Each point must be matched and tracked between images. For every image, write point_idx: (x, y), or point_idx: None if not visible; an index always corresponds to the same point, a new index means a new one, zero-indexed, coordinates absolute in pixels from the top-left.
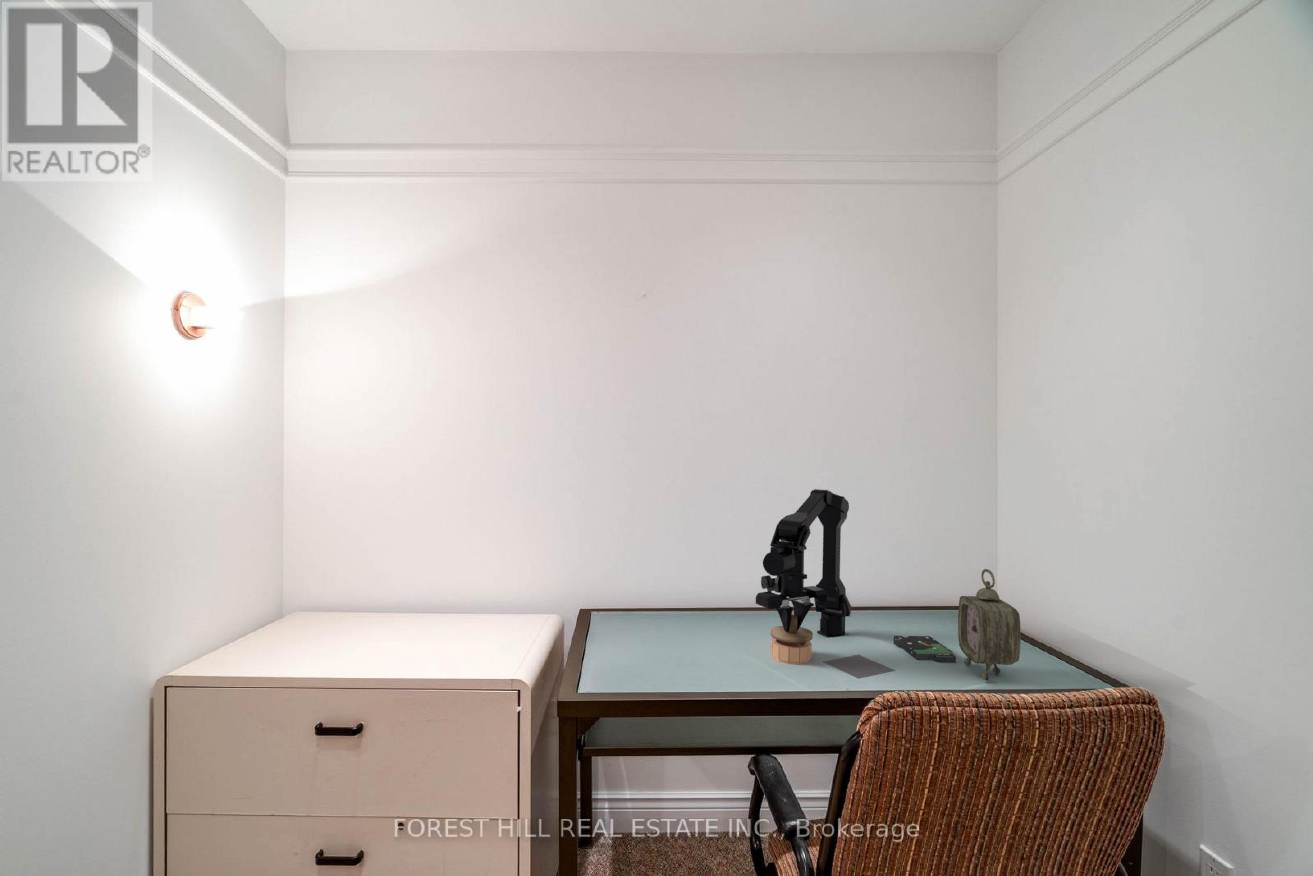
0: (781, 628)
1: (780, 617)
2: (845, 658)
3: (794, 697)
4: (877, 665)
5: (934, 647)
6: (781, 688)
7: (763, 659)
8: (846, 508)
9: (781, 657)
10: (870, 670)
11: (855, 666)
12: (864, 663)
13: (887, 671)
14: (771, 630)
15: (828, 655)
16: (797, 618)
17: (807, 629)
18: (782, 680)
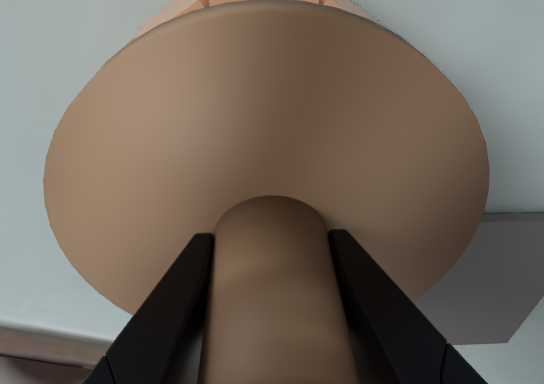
0: (241, 118)
1: (95, 376)
2: (498, 231)
3: (63, 358)
4: (509, 309)
5: None
6: (43, 317)
7: (77, 29)
8: None
9: None
10: (438, 327)
11: (433, 296)
12: (495, 287)
13: (474, 342)
14: (65, 134)
15: (512, 139)
16: (361, 376)
17: (465, 238)
18: (75, 278)
